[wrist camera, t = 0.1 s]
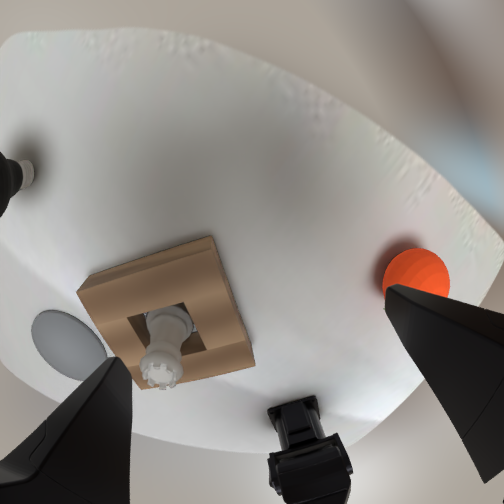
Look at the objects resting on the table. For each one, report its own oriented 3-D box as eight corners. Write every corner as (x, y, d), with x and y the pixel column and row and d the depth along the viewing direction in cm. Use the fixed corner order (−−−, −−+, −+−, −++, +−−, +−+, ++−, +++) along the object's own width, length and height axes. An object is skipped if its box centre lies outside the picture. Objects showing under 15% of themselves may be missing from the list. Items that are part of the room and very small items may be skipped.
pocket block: (251, 345, 27) (255, 365, 24) (145, 369, 26) (141, 389, 24) (211, 235, 22) (211, 249, 19) (88, 275, 22) (75, 292, 19)
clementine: (363, 311, 27) (396, 354, 20) (357, 254, 24) (399, 291, 18) (421, 284, 27) (459, 317, 20) (421, 229, 24) (468, 255, 18)
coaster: (123, 373, 26) (122, 377, 26) (65, 380, 26) (63, 383, 26) (76, 301, 22) (73, 304, 22) (20, 318, 22) (18, 321, 22)
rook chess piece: (169, 340, 25) (159, 403, 18) (138, 308, 24) (116, 369, 16) (205, 319, 25) (204, 384, 17) (174, 284, 23) (160, 346, 16)
